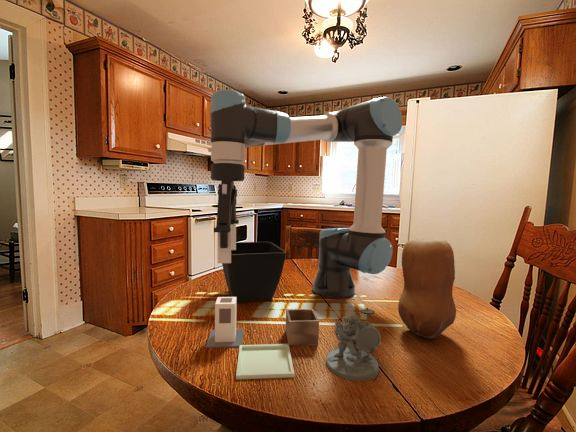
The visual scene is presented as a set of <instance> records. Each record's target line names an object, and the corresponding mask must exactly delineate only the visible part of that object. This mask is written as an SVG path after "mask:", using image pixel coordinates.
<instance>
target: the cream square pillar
mask: <svg viewBox="0 0 576 432" xmlns="http://www.w3.org/2000/svg"><path fill="white" fill-rule="evenodd" d="M237 305H238V303H237V297H231V296H217V298H216V301H215V303H214V330H215V342H235V337H236V329H237Z"/></svg>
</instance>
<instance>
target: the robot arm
mask: <svg viewBox="0 0 576 432" xmlns="http://www.w3.org/2000/svg"><path fill="white" fill-rule="evenodd" d="M209 109H210V110H209V111H210V112H209V116H210V117H209V118H210V147H208V149H207V151H208V152H209V153H210V161H211V162H212V163H211V165H210V180H211V181H213V182H214V181H215V182H217V181H218V182H220V183H219V184H218V186H217V188H218V189H217V195H218V198H217V213H216V224H215V227H213V232H214V233H217V264H222V263H231V250H236V242H237V225H239V219H237V218H238V217H237V207H236V206H237V201H238V200H237V197H238V189H237V187H236V185H235V182H244V181H245V171H246V170H245V167H246V166H244V164H243V163H245V161H246V159H245V158H246V148H252V147H261V146H262V147H263V146H269V145H272V146H273V145H281V144H291V143H301V142H313V141H324V143H334V142H335V143H336V142H338V143H341V142H344V143H345V142H347V143H350V142H351V143H353V145H354V146H355V147H356V148H357V150H358V152H357V154H358V155H357V165H356V166H357V167H356V168H357V169H356V181H355V182H356V183H355V197H354V209H353V211H354V212H353V224H352V225H351V226H349V227H334V228H333V227H332V228H323V229H321V230H320V231H319V239H318V265H317V266H318V269H317V271H316V274H315V277H314V280H313V282H312V290H313V292H314V293H315V294H317V295H319V296H323V297H327V298H335V299H336V298H337V299H340V298H343V299H344V298H348V297H349V298H350V297H351V296H353V295H355V293H356V292H355V291H356V290H355V289H356V285H355V282H354V278H353V275H352V274H353V273H352V272H351V271H352V270H355V271H358V272H361V273H363V274H369V275H370V274H371V275H378V274H380V273H382V272H383V271H384V270H386V268H387V267H388V266H389V264H390V262H391V260H392V256H393V245H392V243H391V241H390V240H388V239H387V238H386V230H385V229H384V228H383V227H382V221H383V220H382V216H383V204H384V194H385V193H384V192H385V191H384V189H385V180H386V179H385V178H386V166H387V165H386V164H387V150H388V149H389V148H390V147H391V146H392V145H393V140H394V139H393V137H395V136H396V135H398V134H399V133H400V132H401V130H402V127H403V115H402V111H401V108H400V107H399V104H398V103H397V102H396V101H395V100H394V99H393V98H392V97H389V96H383V97H378V98H377V97H374V98H372V99H370V100H367V101H363V102H361V103H357V104H354V105H350V106H348V107H345V108H342V109H339V110H337V111H336V110H335V111H330V112H329V111H328V112H324V113H323V114H322V115H314V116H313V115H311V116H294V117H291V116H289V115H288V114H287V113H285V112H282V111H278V110H277V109H276V110H272V109H268V108H263V107H262V108H261V107H257V106H252V105H248V104H247V103H246V97H245V95H244V93H242V92H239V91H238V90H233V89H220V90H215V91H214V92H213V93H212V94H211V97H210V108H209Z"/></svg>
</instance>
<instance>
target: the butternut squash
mask: <svg viewBox="0 0 576 432" xmlns="http://www.w3.org/2000/svg"><path fill="white" fill-rule="evenodd" d="M455 267H456V266H455V255H454V251H453V247H452V246H451V244H450V243H449V242H448V241H447V240H445V239H443V238H424V239H423V238H422V239H421V238H420V239H419V238H413V239H410V240H408V241H407V242H405V244H404V245H403V248H402V253H401V268H402V276H403V289H402V292H401V294H400V297H399V299H398V306H397V309H398V314H399V317H400V319H401V321H402V322H403V324H404V325H405V326H406V328H407V329H408V330H410V331H411V332H412V333H414V334H416V336H421V337H423V338H426V339H437V338H438V337H440V335H441V334H443V332H444V331H446V330H447V328H449V327H450V326H451V325H453V324H454V322H455V320H456V315H457V306H456V304H455V301H454V297H453V288H454V287H453V286H454V283H455V279H456V269H455Z"/></svg>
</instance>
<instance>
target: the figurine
mask: <svg viewBox="0 0 576 432" xmlns="http://www.w3.org/2000/svg"><path fill="white" fill-rule="evenodd" d="M360 314H363V315H366V321H361V319H360V317H359V316H358V315H357V314H356V313H355V314H354V313H353V314H351V315H349V317H348V318H347V316H342V319H341V321H338V320H337V321H335V323H334V325H335V326H336V327H335V329H334V331H333V333H334V334H335V336H336V338H337V340H338V341H339V343H338V345H337V348H335V349H332V350H331V351H329V352H328V353H327V354H326V358H325V363H326V366H327V369H329V371H331V373H333V375H336V376H337V377H340V378H342V379H345V380H347V381H348V380H349V381H355V382H356V381H358V382H362V381H369V380H370V381H372V380H374V379H375V378H377V377H378V374H379V372H380V369H379V367H380V364H379V362H378V360H377V358H375V357H374V355H373V353H374V352H375V351H377V349H378V348H379V347H380V345H381V342H382V336H381V334H380V331H379V330H378V329H377V328H376V327H374V325H372V324H371V322H369V316H373V315H375V310H373V309H370V308H369V307H366V308H363V309H360Z"/></svg>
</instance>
